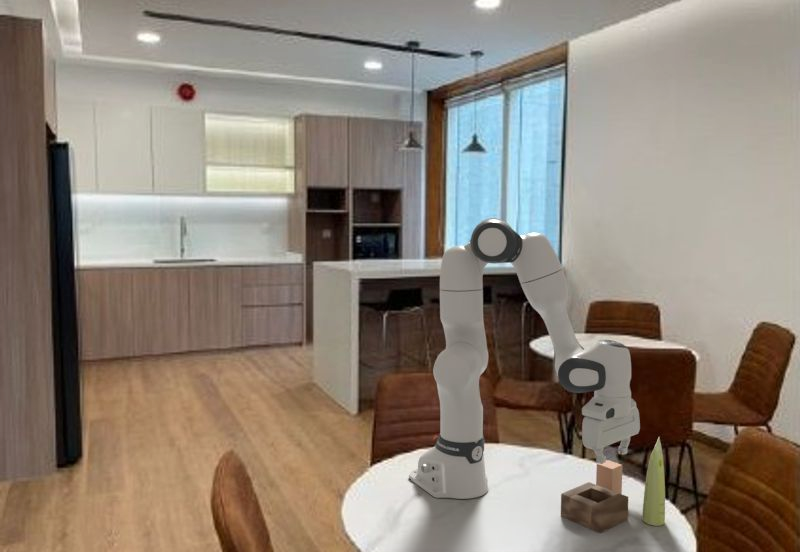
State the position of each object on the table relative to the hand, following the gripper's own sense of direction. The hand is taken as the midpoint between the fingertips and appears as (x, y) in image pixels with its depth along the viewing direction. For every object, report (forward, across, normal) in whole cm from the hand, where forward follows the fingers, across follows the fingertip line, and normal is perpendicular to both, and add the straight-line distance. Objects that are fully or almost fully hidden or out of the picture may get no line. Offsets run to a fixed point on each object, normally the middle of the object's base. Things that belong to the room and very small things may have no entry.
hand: (612, 458), depth 165 cm
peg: (+11, 0, -1) cm, 11 cm away
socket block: (+10, +12, +3) cm, 17 cm away
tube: (+11, +4, +13) cm, 18 cm away
